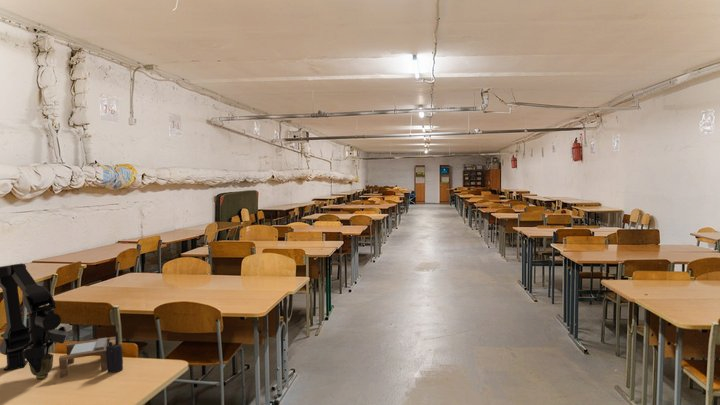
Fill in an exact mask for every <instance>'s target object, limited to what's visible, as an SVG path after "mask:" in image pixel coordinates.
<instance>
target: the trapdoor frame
mask: <svg viewBox="0 0 720 405" xmlns="http://www.w3.org/2000/svg"><path fill="white" fill-rule="evenodd" d="M106 338H107V346H106V349H103V350H96V351H90V352H83V353H77V354H70V353H71V351H72V349H73V347H74V346H75V344H81V343H88V342H95V341H98V339H99V338H97V339H90V340H83V341H75V342H69V343H68V342H67V344H66V355H60V356H59V357H58V366H59V367H58V368H59V378H60V379H62V378H63V379H65V378H67V377H68V376H69V375H68V365H70V364H74V363H75V359H78V358H79V359H80V358H85V357H92V356H98V355H100V356H99V357H100V358H99V359H100V371H101V372H104V371H107V358H106V350H107V347H108V346H109V342H112V345H113V344H116V339H115V336H111V337H106Z"/></svg>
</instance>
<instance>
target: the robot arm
mask: <svg viewBox="0 0 720 405" xmlns="http://www.w3.org/2000/svg"><path fill="white" fill-rule="evenodd" d="M18 287H19V288H18ZM0 289H2V297H3V304H4V311H5V318H6V319H5V320H6V325H7V326H6V328H5V331H3V334H2V341H1V343H0V354H2V355H4V356H6V366H5V367H4V368H3V371H6V370H7V371H8V370H14V369H20V368H25V367H26V365H27V364H29V363H30V364H31V366H32V367H33V369H34V370H35V371H36V373H38V372H40V370H41V364H42V358H43V357H44V356H45V355H46V354H47V355H48V353H50V348H51V346H53V344H54V343H58V344H64V343H65V341H66V339H67V336H68V334H69V332H68V330H67V328H66V326H63V325H62V326H60V324H61V322H62V318H61V316H60V315H59V314H58V313H56V312H55V310H54V309H56V308H57V307H56V301H55V300H54V297H53V295H52V293H51V292H50V291H49V290H48V289H47V288H46V287H45V286H43V285H40V284H38V283H37V282H36V281H35V279H34V278H33V276H32V274H30V272H29V271H28V269H27V266H26V264H25V263H22V262H21V263H15V264H9V265H2V266H0ZM19 289H20V290H21V292H22V293H23V297H22V301H23V305H24V307H25V309H26V312H27V313H28V325H29V326H26V325H25V324H23V316H22V310H21V308H22V307H21V303H20V296H19ZM58 327H59V328H58ZM57 328H58V329H57Z"/></svg>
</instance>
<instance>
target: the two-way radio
mask: <svg viewBox="0 0 720 405" xmlns="http://www.w3.org/2000/svg"><path fill="white" fill-rule="evenodd" d="M114 333H115V334H114V335H115V336H114V337H115V339H116V342H115V344H113V345H112V342H109V346H108V347H107V350H106V358H107V370H106V371H107V373H109V374H111V373H116V372H120V371H122V370H123V369H124V365H123V364H124V359H123V358H124V356H123V354H124V350H123V346H122V344H120V342H119V332H118V330H116V331H115V332H114Z"/></svg>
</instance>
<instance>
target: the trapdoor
mask: <svg viewBox="0 0 720 405" xmlns="http://www.w3.org/2000/svg"><path fill="white" fill-rule="evenodd" d="M107 338H108V337H102V338H97V339H98V341H95V342H88V343H81V344H75V346H74V347H73V349H72V351H71V353H70V354H77V353H83V352H90V351H96V350H103V349H106V346H107Z"/></svg>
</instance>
